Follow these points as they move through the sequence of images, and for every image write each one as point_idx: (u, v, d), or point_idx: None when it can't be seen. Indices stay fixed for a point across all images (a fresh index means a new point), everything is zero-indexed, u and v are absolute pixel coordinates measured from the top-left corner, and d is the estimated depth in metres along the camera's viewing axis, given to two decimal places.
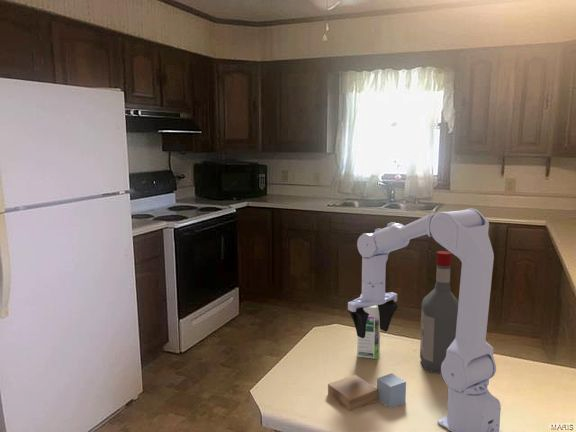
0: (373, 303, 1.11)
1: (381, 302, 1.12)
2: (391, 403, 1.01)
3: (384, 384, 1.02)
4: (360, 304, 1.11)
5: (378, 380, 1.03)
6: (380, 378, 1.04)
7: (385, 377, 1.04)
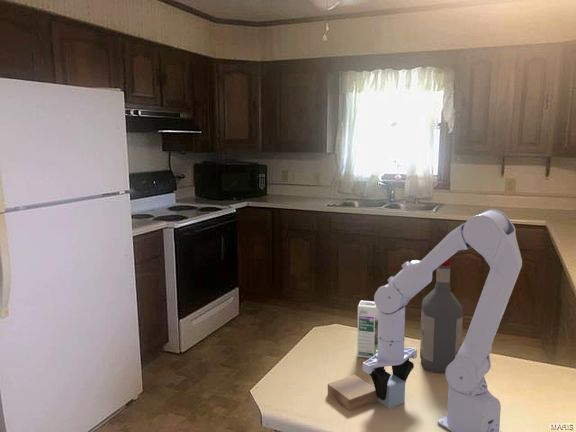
0: (391, 363, 0.99)
1: (400, 362, 0.99)
2: (390, 403, 1.00)
3: None
4: (376, 365, 0.98)
5: None
6: None
7: None
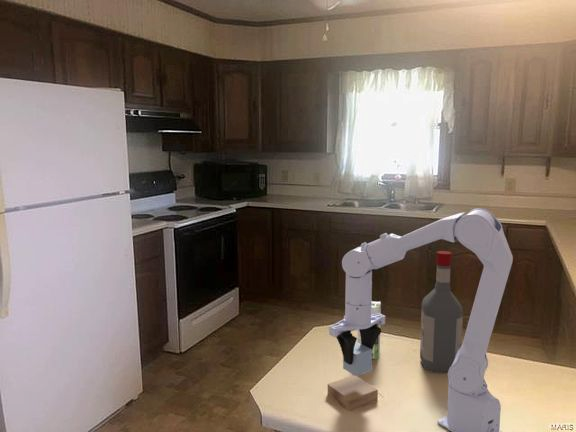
0: (357, 327, 0.99)
1: (366, 326, 1.00)
2: (357, 371, 1.01)
3: None
4: (342, 328, 0.98)
5: None
6: None
7: None
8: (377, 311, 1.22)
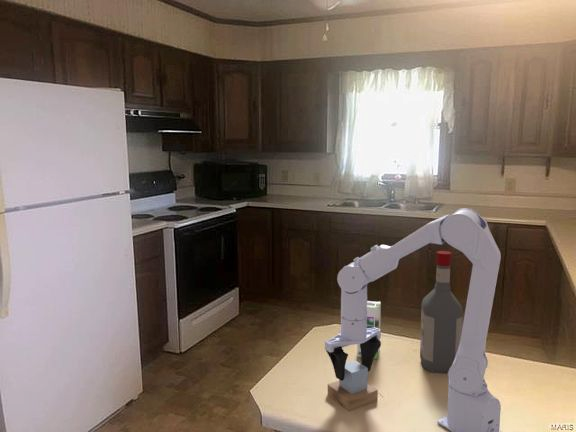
0: (353, 342, 1.00)
1: (362, 341, 1.00)
2: (353, 389, 1.02)
3: (346, 370, 1.02)
4: (338, 343, 0.99)
5: None
6: None
7: (348, 363, 1.05)
8: (377, 311, 1.22)
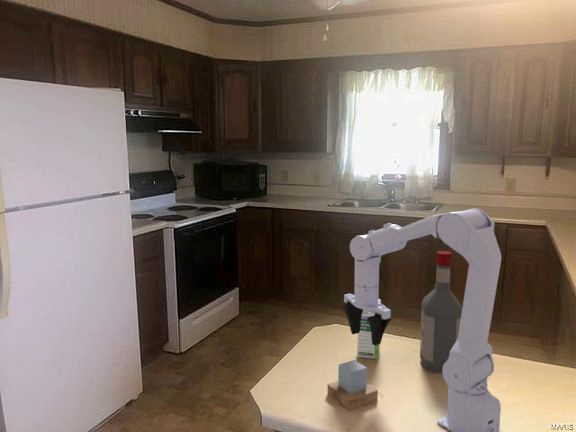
0: (352, 302, 1.11)
1: (356, 305, 1.09)
2: (351, 389, 1.02)
3: (345, 370, 1.03)
4: (348, 298, 1.14)
5: (340, 366, 1.04)
6: (342, 364, 1.05)
7: (347, 363, 1.05)
8: None
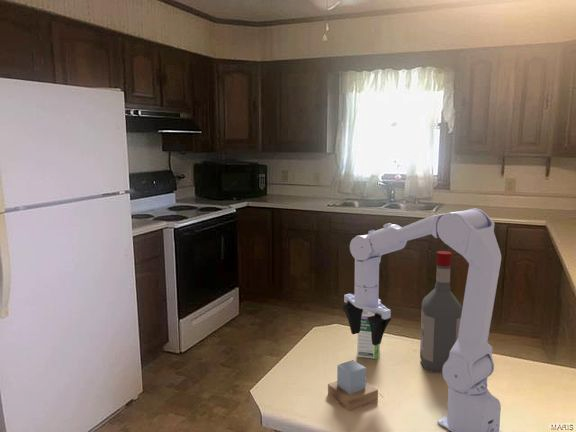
0: (352, 302, 1.11)
1: (356, 305, 1.09)
2: (351, 389, 1.01)
3: (344, 370, 1.02)
4: (348, 298, 1.14)
5: (339, 367, 1.04)
6: (341, 365, 1.04)
7: (346, 363, 1.05)
8: None
